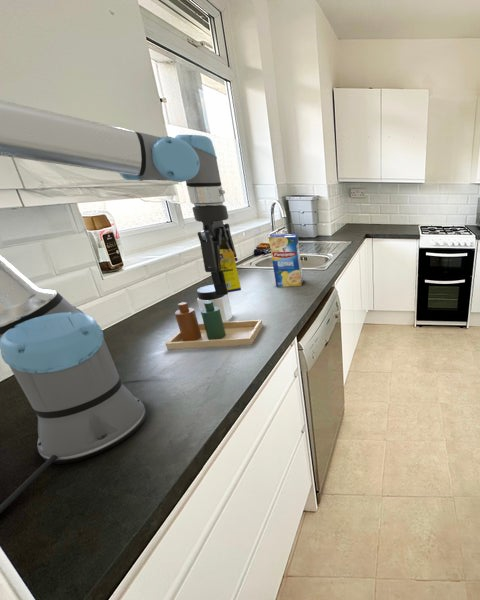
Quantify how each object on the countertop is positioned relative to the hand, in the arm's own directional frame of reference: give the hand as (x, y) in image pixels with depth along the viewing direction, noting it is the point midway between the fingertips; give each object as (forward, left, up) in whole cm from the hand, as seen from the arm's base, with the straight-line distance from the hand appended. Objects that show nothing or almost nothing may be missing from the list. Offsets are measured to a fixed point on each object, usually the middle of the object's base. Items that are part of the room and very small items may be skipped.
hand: (228, 288), depth 87 cm
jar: (+16, +12, -17) cm, 26 cm away
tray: (+3, +7, -17) cm, 19 cm away
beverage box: (+53, -5, -17) cm, 56 cm away
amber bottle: (+3, +14, -16) cm, 22 cm away
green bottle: (+3, +7, -16) cm, 18 cm away
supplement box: (0, 0, 0) cm, 0 cm away
